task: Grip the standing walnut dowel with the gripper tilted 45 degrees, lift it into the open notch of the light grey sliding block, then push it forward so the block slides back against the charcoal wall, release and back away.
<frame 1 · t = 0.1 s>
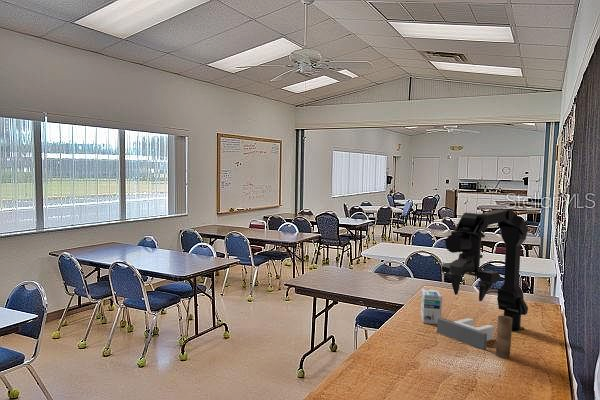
hand: (467, 297, 153), 15 cm above the table, tool pointing down, fingers open, 9 cm apart
backstop wall: (460, 340, 154), on the table
light bulb box: (430, 320, 176), on the table
dowel: (502, 355, 142), on the table
socket block: (472, 330, 158), point 2 cm above the table, slide at 0.0 cm
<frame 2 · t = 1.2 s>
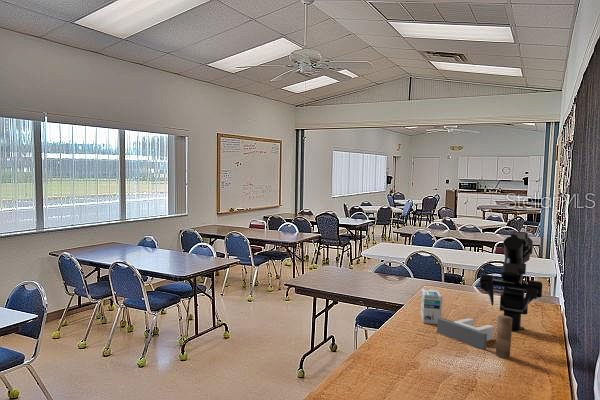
hand: (507, 307, 148), 13 cm above the table, tool tilted 45°, fingers open, 9 cm apart
nothing on the table moved.
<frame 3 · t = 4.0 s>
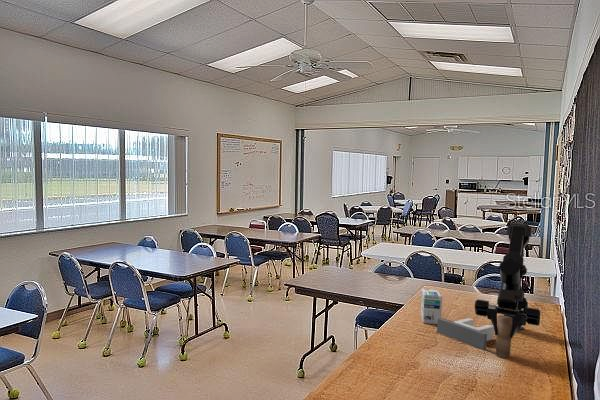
hand: (503, 336, 141), 7 cm above the table, tool tilted 45°, fingers closed on dowel, 4 cm apart
dowel: (502, 355, 142), on the table, touching gripper
everything else where it was.
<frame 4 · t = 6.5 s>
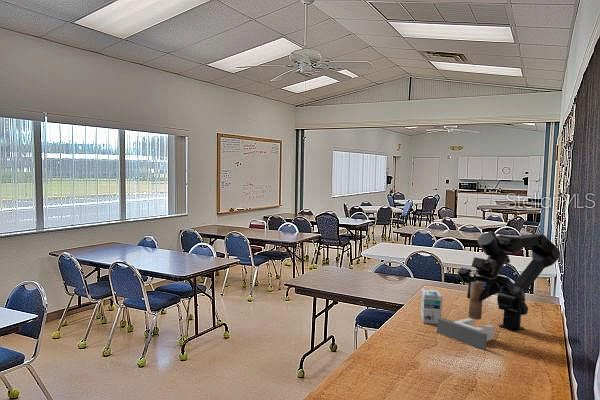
hand: (473, 299, 156), 13 cm above the table, tool tilted 45°, fingers closed on dowel, 4 cm apart
dowel: (474, 317, 158), point 7 cm above the table, touching gripper
everything else where it was.
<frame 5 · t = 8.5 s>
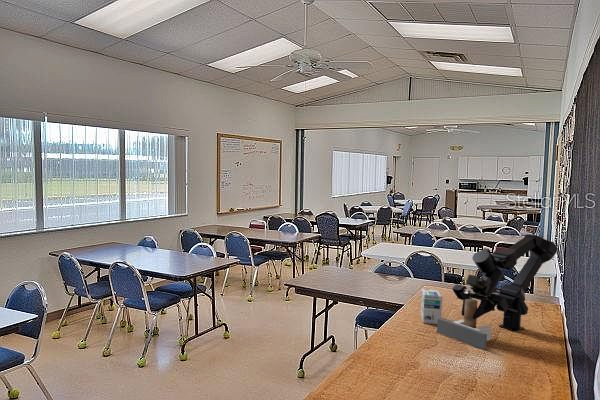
hand: (467, 316, 156), 8 cm above the table, tool tilted 45°, fingers closed on dowel, 4 cm apart
dowel: (469, 335, 157), point 1 cm above the table, touching gripper
socket block: (470, 331, 157), point 2 cm above the table, slide at 1.5 cm, touching backstop wall
everything else where it was.
when the fingers open (7 cm above the table, at t = 9.4 s): dowel stays where it is, resting in socket block.
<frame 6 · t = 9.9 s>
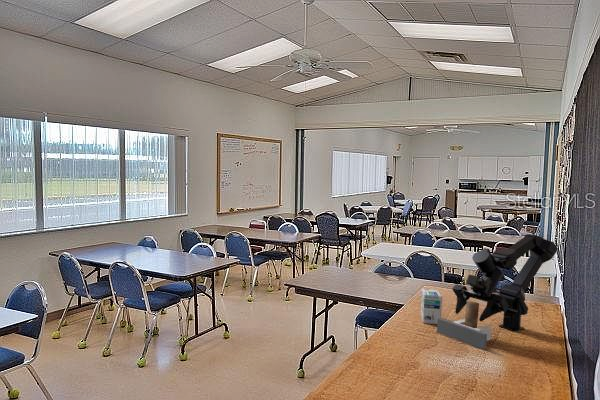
hand: (467, 316, 156), 8 cm above the table, tool tilted 45°, fingers open, 9 cm apart
dowel: (469, 337, 157), resting in socket block
everything else where it was.
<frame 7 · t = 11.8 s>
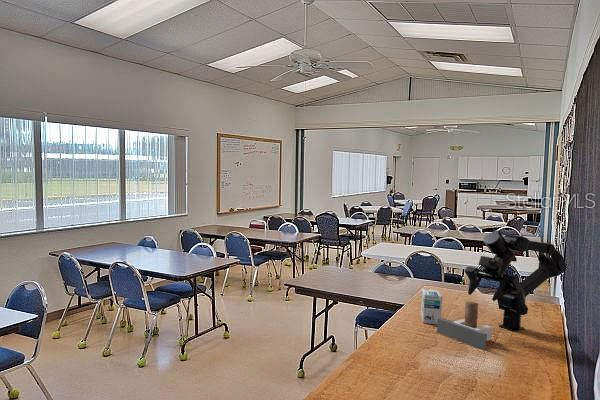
hand: (480, 297, 159), 14 cm above the table, tool tilted 45°, fingers open, 9 cm apart
nothing on the table moved.
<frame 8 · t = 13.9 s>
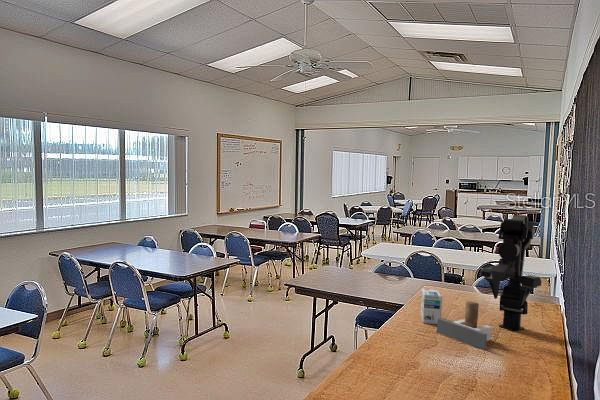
hand: (508, 301, 157), 13 cm above the table, tool pointing down, fingers open, 9 cm apart
nothing on the table moved.
at the end: socket block slide at 1.5 cm; dowel 0.1 cm off-centre on the socket block, point 0.0 cm above the socket block's base; dowel tilted 0° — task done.
